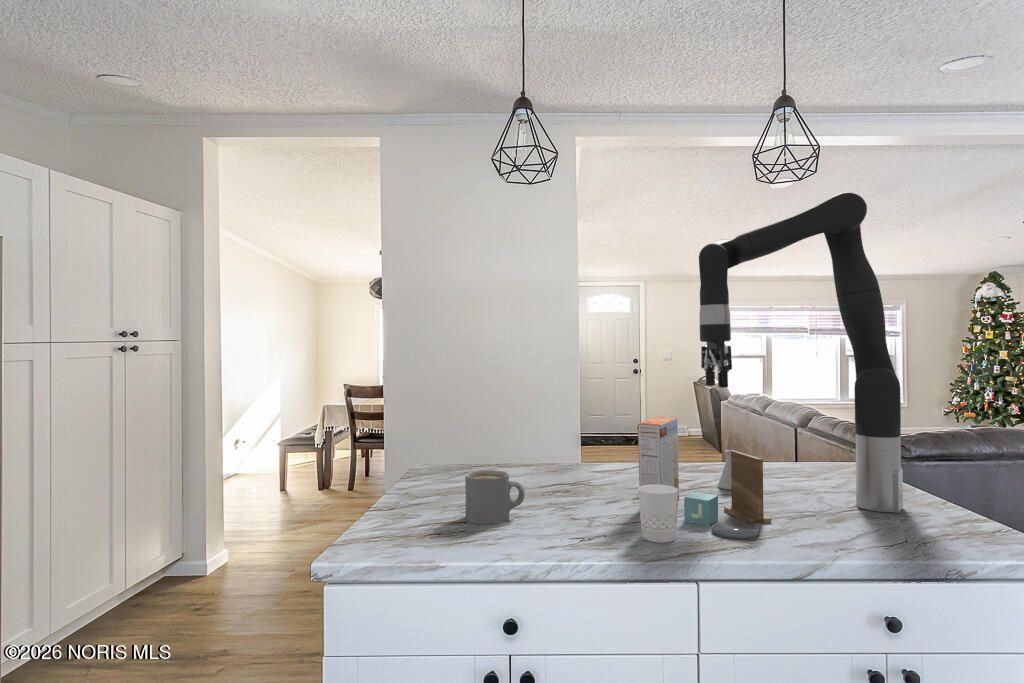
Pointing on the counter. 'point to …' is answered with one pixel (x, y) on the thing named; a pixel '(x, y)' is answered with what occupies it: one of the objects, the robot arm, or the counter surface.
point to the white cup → (658, 512)
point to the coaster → (734, 530)
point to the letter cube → (701, 508)
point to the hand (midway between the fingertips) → (716, 386)
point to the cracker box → (658, 452)
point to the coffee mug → (490, 496)
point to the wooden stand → (747, 488)
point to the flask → (726, 472)
